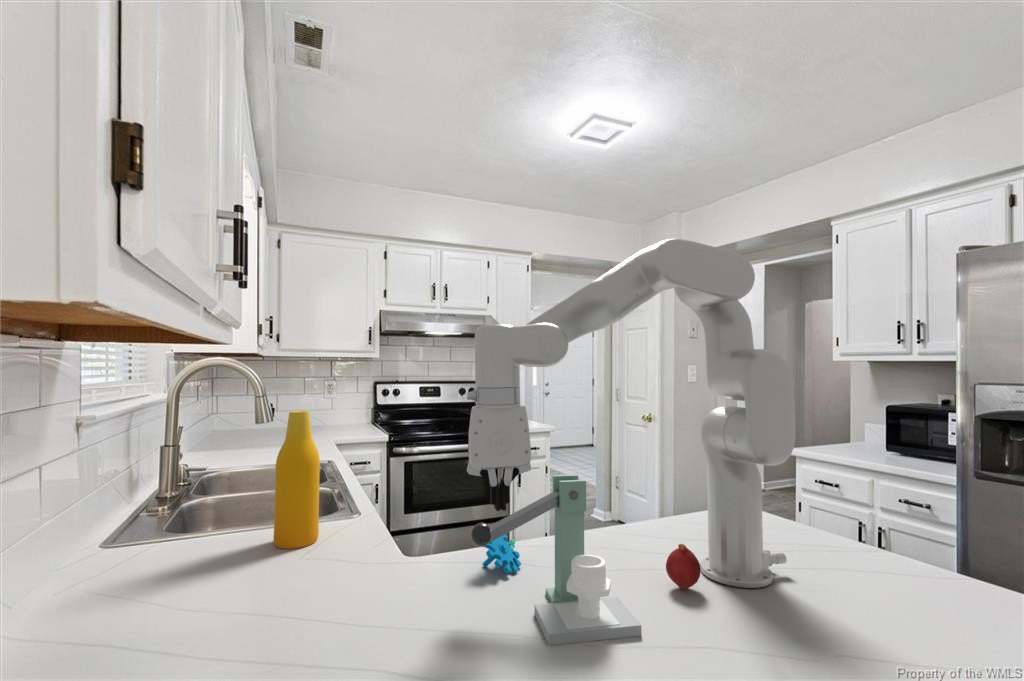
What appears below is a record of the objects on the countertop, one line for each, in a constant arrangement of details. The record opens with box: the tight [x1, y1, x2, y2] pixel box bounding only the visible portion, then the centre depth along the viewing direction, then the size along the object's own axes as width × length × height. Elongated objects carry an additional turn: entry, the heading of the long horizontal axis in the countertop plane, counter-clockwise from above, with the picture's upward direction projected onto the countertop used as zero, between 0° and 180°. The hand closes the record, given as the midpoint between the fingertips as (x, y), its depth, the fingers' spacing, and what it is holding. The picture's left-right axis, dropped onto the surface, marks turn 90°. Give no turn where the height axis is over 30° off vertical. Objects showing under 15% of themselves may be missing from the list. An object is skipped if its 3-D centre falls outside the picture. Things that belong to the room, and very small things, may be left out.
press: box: [533, 474, 642, 646], centre depth 80 cm, size 14×16×20 cm
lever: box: [470, 489, 559, 548], centre depth 84 cm, size 20×4×4 cm, turn 101°
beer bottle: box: [273, 410, 321, 550], centre depth 112 cm, size 9×9×29 cm
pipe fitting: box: [567, 554, 612, 619], centre depth 77 cm, size 6×7×8 cm
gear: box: [482, 534, 522, 574], centre depth 98 cm, size 11×6×10 cm
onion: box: [665, 543, 702, 591], centre depth 89 cm, size 6×6×8 cm
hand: (499, 508), depth 83 cm, fingers closed
